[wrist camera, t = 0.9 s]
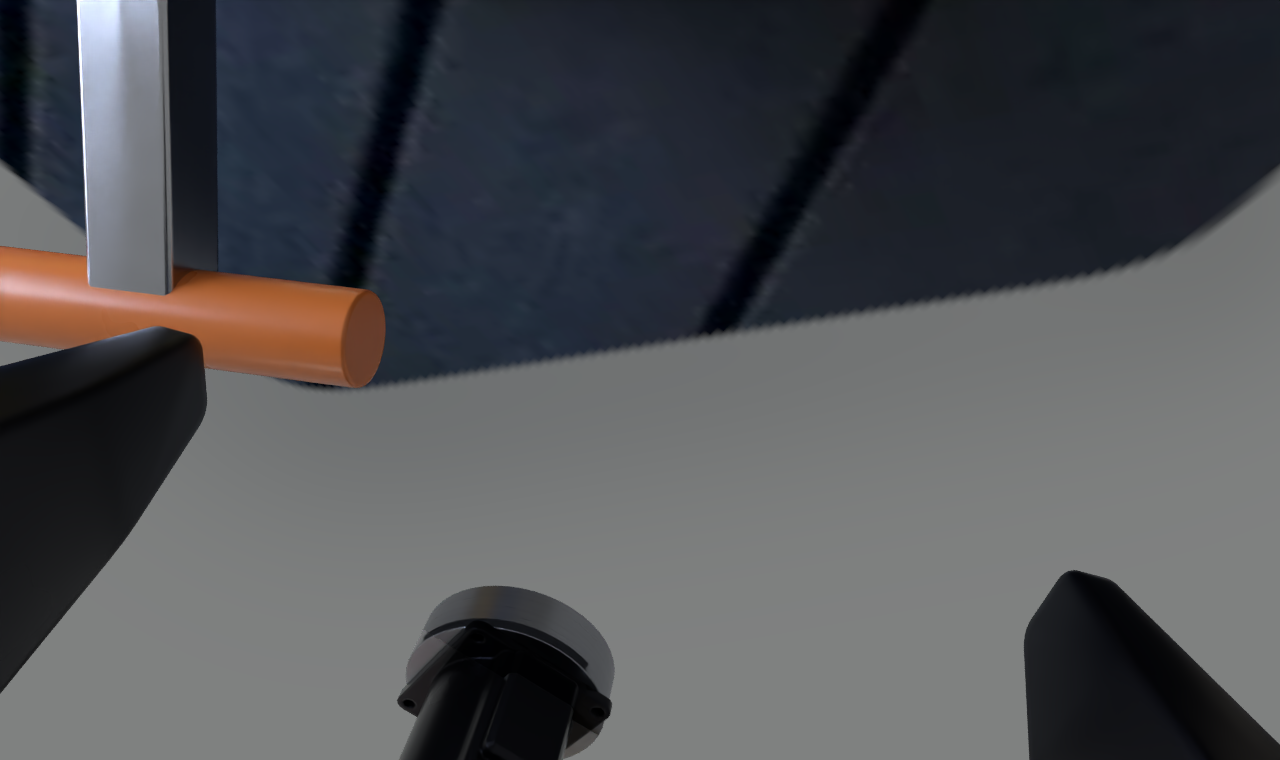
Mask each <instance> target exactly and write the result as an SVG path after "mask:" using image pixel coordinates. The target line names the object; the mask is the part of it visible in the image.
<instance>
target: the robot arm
mask: <svg viewBox="0 0 1280 760" xmlns="http://www.w3.org/2000/svg"><path fill="white" fill-rule="evenodd" d="M206 406H207V393H206V381H205V369H204V357H203V348H202V345H201V343H200V340H199V339H198V338H197V337H195V336H194V335H192V334H189V333H185V332H181V331H178V330H174V329H170V328H166V327H161V326H154V327H149V328H145V329H141V330H138V331H134V332H130V333H126V334H122V335H118V336H115V337H111V338H107V339H103V340H99V341H95V342H92V343H88V344H84V345H80V346H76V347H73V348H69V349H65V350H61V351H58V352H53V353H50V354H46V355H42V356H38V357H35V358H31V359H27V360H23V361H19V362H16V363H11V364H8V365H4V366H0V693H1V692H2V691H3V690H4V688H5V687H6V686H7V685H8V683H9V682H10V681H11V680H12V679H13V677H14V676H15V675H16V674H17V672H18V671H19V670H20V669H21V668H22V666H23V665H24V664H25V663H26V661H27V660H28V659H29V658H30V656H31V655H32V654H33V653H34V651H35V650H36V649H37V648H38V647H39V645H40V644H41V643H42V642H43V640H44V639H45V638H46V637H47V636H48V634H49V633H50V632H51V631H52V630H53V628H54V627H55V626H56V625H57V623H58V622H59V621H60V620H61V619H62V617H63V616H64V615H65V614H66V612H67V611H68V610H69V609H70V608H71V606H72V605H73V604H74V603H75V601H76V600H77V599H78V598H79V596H80V595H81V594H82V593H83V592H84V590H85V589H86V588H87V587H88V585H89V584H90V583H91V581H93V579H94V578H95V577H96V576H97V574H98V573H99V572H100V571H101V569H102V568H103V567H104V566H105V565H106V563H107V562H108V561H109V560H110V558H111V557H112V556H113V555H114V553H115V552H116V551H117V549H118V548H119V547H120V546H121V544H122V543H123V542H124V540H125V539H126V537H127V536H128V535H129V533H130V532H131V530H132V529H133V527H134V526H135V525H136V523H137V522H138V520H139V519H140V517H141V516H142V514H143V512H144V511H145V509H146V508H147V506H148V504H149V503H150V502H151V500H152V498H153V497H154V495H155V494H156V492H157V491H158V489H159V488H160V486H161V485H162V483H163V481H164V480H165V478H166V477H167V475H168V474H169V472H170V470H171V469H172V468H173V466H174V464H175V463H176V461H177V460H178V458H179V457H180V455H181V454H182V452H183V451H184V449H185V447H186V446H187V444H188V443H189V441H190V440H191V438H192V437H193V435H194V433H195V432H196V430H197V429H198V427H199V426H200V424H201V422H202V420H203V417H204V415H205V411H206ZM1024 658H1025V678H1026V699H1027V719H1028V740H1029V760H1280V744H1279V743H1278V742H1276V740H1274V739H1273V738H1272V737H1271V736H1270V735H1269V734H1268V733H1267V732H1266V731H1265V730H1264V729H1263V728H1262V727H1261V726H1260V725H1259V724H1258V723H1257V722H1256V721H1255V720H1254V719H1253V718H1252V717H1251V716H1250V715H1249V714H1248V713H1247V712H1246V711H1245V710H1244V709H1243V708H1242V707H1241V706H1240V705H1239V704H1238V703H1237V702H1236V701H1235V700H1234V699H1233V698H1232V697H1231V696H1230V695H1228V693H1227V692H1225V690H1224V689H1222V688H1221V687H1220V686H1219V685H1218V684H1217V683H1216V682H1215V681H1214V680H1213V679H1212V678H1211V677H1210V676H1209V675H1208V674H1207V673H1206V672H1205V671H1204V670H1203V669H1202V668H1201V667H1200V666H1199V665H1198V664H1197V663H1196V662H1195V661H1194V660H1193V659H1192V658H1191V657H1190V656H1189V655H1188V654H1187V653H1186V652H1185V651H1184V650H1183V649H1182V648H1181V647H1180V646H1179V645H1178V644H1177V643H1176V642H1175V641H1173V639H1172V638H1171V637H1170V636H1169V635H1168V634H1167V633H1166V632H1164V631H1163V630H1162V629H1161V628H1160V627H1159V626H1158V625H1157V624H1156V623H1155V622H1154V621H1153V620H1152V619H1151V618H1150V617H1149V616H1148V615H1147V614H1146V613H1145V612H1144V611H1143V610H1142V609H1141V608H1140V607H1139V606H1138V605H1137V604H1136V603H1135V602H1134V601H1133V600H1132V599H1131V598H1130V597H1129V596H1128V595H1127V594H1126V593H1125V592H1124V591H1123V590H1122V589H1121V588H1120V587H1119V586H1118V585H1117V584H1115V583H1114V582H1113V581H1111V580H1109V579H1107V578H1103V577H1100V576H1096V575H1092V574H1088V573H1084V572H1081V571H1077V570H1076V571H1075V570H1073V571H1068V572H1066V573H1064V574H1063V575H1062V576H1061V577H1060V578H1059V579H1058V581H1057V582H1056V584H1055V585H1054V587H1053V588H1052V589H1051V591H1050V593H1049V594H1048V595H1047V597H1046V598H1045V600H1044V601H1043V603H1042V604H1041V606H1040V607H1039V609H1038V610H1037V612H1036V613H1035V615H1034V616H1033V617H1032V619H1031V621H1030V622H1029V625H1028V627H1027V629H1026V633H1025V639H1024ZM397 701H398V704H399V706H400V707H402V708H403V709H404V710H406V711H408V712H409V713H411V714H413V715H415V716H416V717H417V720H416V722H415V724H414V727H413V729H412V731H411V733H410V736H409V738H408V740H407V743H406V745H405V747H404V750H403V752H402V754H401V756H400V759H399V760H563V757H564V753H565V750H566V749H568V748H569V747H570V746H572V745H573V744H574V743H576V742H577V741H578V740H580V739H581V738H582V737H584V736H585V735H586V734H588V733H589V732H590V731H592V730H593V729H594V728H595V727H597V726H598V725H599V724H601V723H602V722H603V721H605V720H606V719H607V718H608V717H609V716H610V714H611V709H612V702H611V700H610V699H609V698H607V697H606V696H604V695H603V694H601V693H600V692H598V691H596V690H595V689H593V688H592V687H590V686H588V685H587V684H585V683H583V682H582V681H580V680H579V679H577V678H575V677H574V676H572V675H571V674H569V673H567V672H566V671H564V670H562V669H561V668H559V667H558V666H556V665H554V664H553V663H551V662H550V661H548V660H546V659H545V658H543V657H541V656H540V655H538V654H537V653H535V652H533V651H532V650H530V649H529V648H527V647H525V646H524V645H522V644H521V643H519V642H517V641H516V640H514V639H512V638H511V637H509V636H508V635H506V634H504V633H503V632H501V631H500V630H498V629H496V628H495V627H493V626H491V625H490V624H488V623H486V622H484V621H479V620H476V621H472V622H470V623H469V624H468V625H467V626H466V627H465V628H464V629H463V630H462V631H461V632H460V633H459V634H458V635H457V636H456V637H455V638H454V639H453V640H452V641H451V642H450V643H449V644H448V645H447V646H446V647H445V648H444V649H443V650H442V651H441V652H440V653H439V654H438V655H437V656H436V657H435V658H434V659H433V660H432V661H431V662H430V663H429V664H428V665H427V666H426V667H425V668H424V669H423V670H422V671H420V672H419V673H418V674H417V675H416V676H415V677H414V678H413V679H412V680H411V681H410V682H409V683H408V684H407V685H406V686H405V687H404V688H403V689H402V691H401V693H400V695H399V698H398V700H397Z"/></svg>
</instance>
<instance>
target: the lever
mask: <svg viewBox="0 0 1280 760" xmlns="http://www.w3.org/2000/svg"><path fill="white" fill-rule="evenodd" d="M76 16H77V40H78V63H79V87H80V110H81V134H82V158H83V181H84V205H85V228H86V252H87V256H80V255H72V254H63V253H55V252H46V251H38V250H30V249H22V248H14V247H5V246H0V341H3V342H12V343H19V344H26V345H33V346H41V347H49V348H56V349H64V350H65V349H69V348H73V347H76V346H80V345H84V344H88V343H92V342H95V341H99V340H103V339H107V338H111V337H115V336H118V335H122V334H126V333H130V332H134V331H138V330H141V329H145V328H149V327H154V326H161V327H166V328H170V329H174V330H178V331H181V332H185V333H189V334H192V335H194V336H195V337H197V338H198V339H199V340H200V343H201V345H202V348H203V357H204V368H208V369H216V370H223V371H230V372H239V373H246V374H253V375H261V376H268V377H276V378H284V379H291V380H299V381H306V382H314V383H321V384H329V385H337V386H344V387H352V388H359V387H362V386H365V385H366V384H368V383H369V382H370V380H371V379H372V378H373V376H374V375H375V373H376V371H377V368H378V366H379V363H380V360H381V357H382V353H383V348H384V341H385V316H384V310H383V306H382V304H381V301H380V299H379V297H378V296H377V295H376V294H375V293H374V292H372V291H370V290H366V289H358V288H349V287H341V286H332V285H324V284H316V283H307V282H299V281H290V280H282V279H274V278H265V277H257V276H249V275H240V274H232V273H223V272H218V189H217V78H216V0H76Z"/></svg>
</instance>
